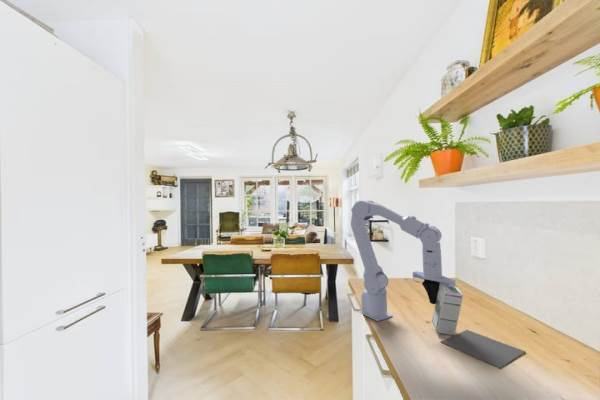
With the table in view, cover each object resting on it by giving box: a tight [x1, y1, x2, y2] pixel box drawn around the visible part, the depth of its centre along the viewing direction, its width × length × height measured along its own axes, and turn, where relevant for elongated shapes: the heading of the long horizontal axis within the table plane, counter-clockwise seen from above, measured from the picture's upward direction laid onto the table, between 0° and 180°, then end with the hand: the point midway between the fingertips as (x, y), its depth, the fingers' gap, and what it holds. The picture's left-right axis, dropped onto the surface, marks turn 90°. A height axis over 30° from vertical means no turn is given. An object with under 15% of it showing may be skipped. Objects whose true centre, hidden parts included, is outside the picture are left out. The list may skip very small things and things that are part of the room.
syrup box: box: [431, 284, 464, 336], centre depth 89 cm, size 6×6×14 cm
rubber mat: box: [440, 329, 527, 369], centre depth 80 cm, size 16×14×1 cm
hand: (433, 303), depth 93 cm, fingers closed
